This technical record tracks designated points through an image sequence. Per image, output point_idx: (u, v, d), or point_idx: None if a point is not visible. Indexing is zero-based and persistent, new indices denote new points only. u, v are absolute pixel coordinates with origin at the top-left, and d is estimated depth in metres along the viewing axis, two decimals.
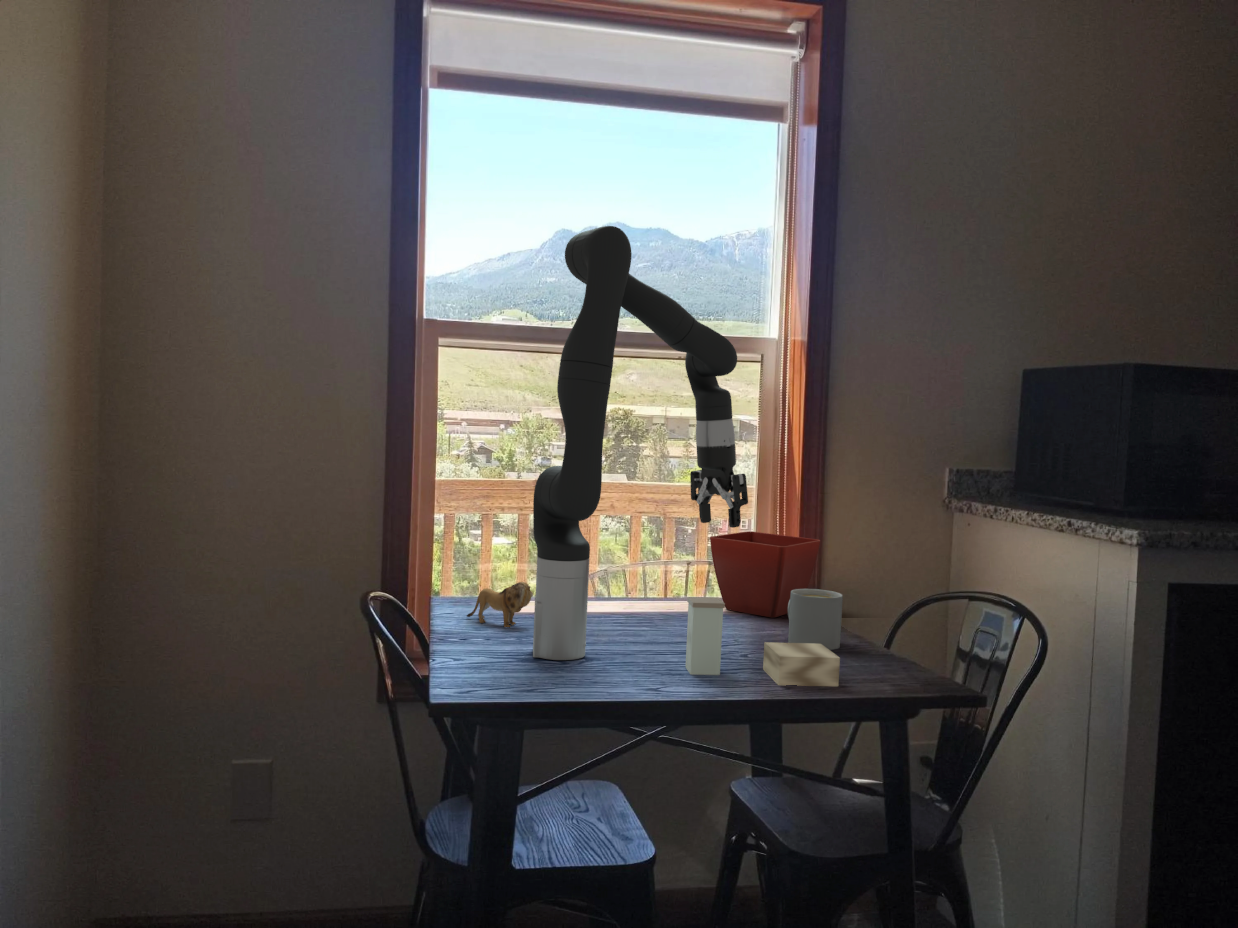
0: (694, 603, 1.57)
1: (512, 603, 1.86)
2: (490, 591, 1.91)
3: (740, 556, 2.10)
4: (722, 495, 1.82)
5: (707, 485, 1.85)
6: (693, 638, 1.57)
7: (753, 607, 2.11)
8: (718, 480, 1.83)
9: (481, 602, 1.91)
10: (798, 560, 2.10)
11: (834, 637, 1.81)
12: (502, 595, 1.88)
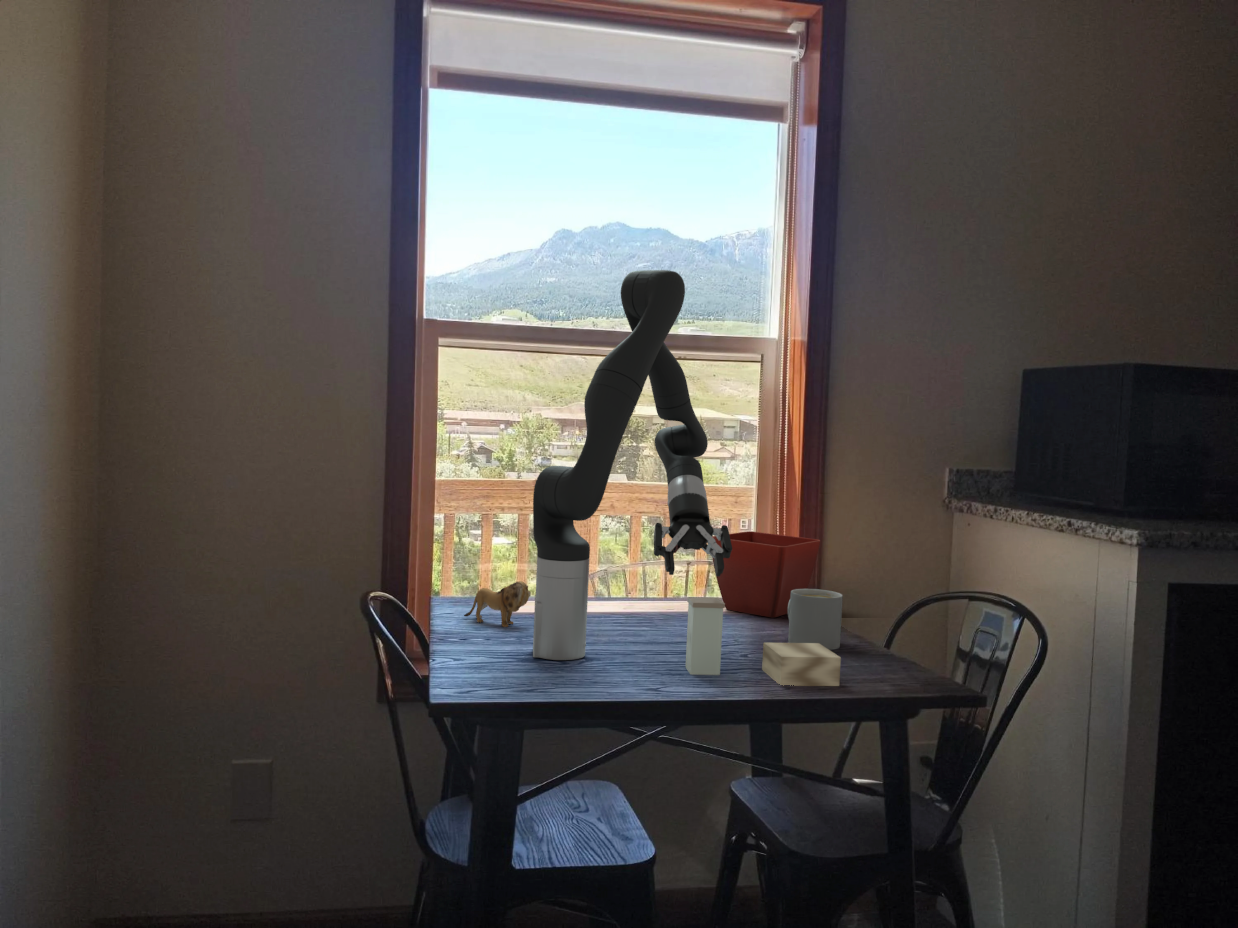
0: (694, 603, 1.57)
1: (510, 602, 1.87)
2: (488, 591, 1.91)
3: (740, 556, 2.10)
4: (710, 540, 1.74)
5: (685, 533, 1.74)
6: (693, 638, 1.57)
7: (753, 607, 2.11)
8: None
9: (479, 602, 1.91)
10: (798, 560, 2.10)
11: (834, 637, 1.81)
12: (500, 594, 1.89)
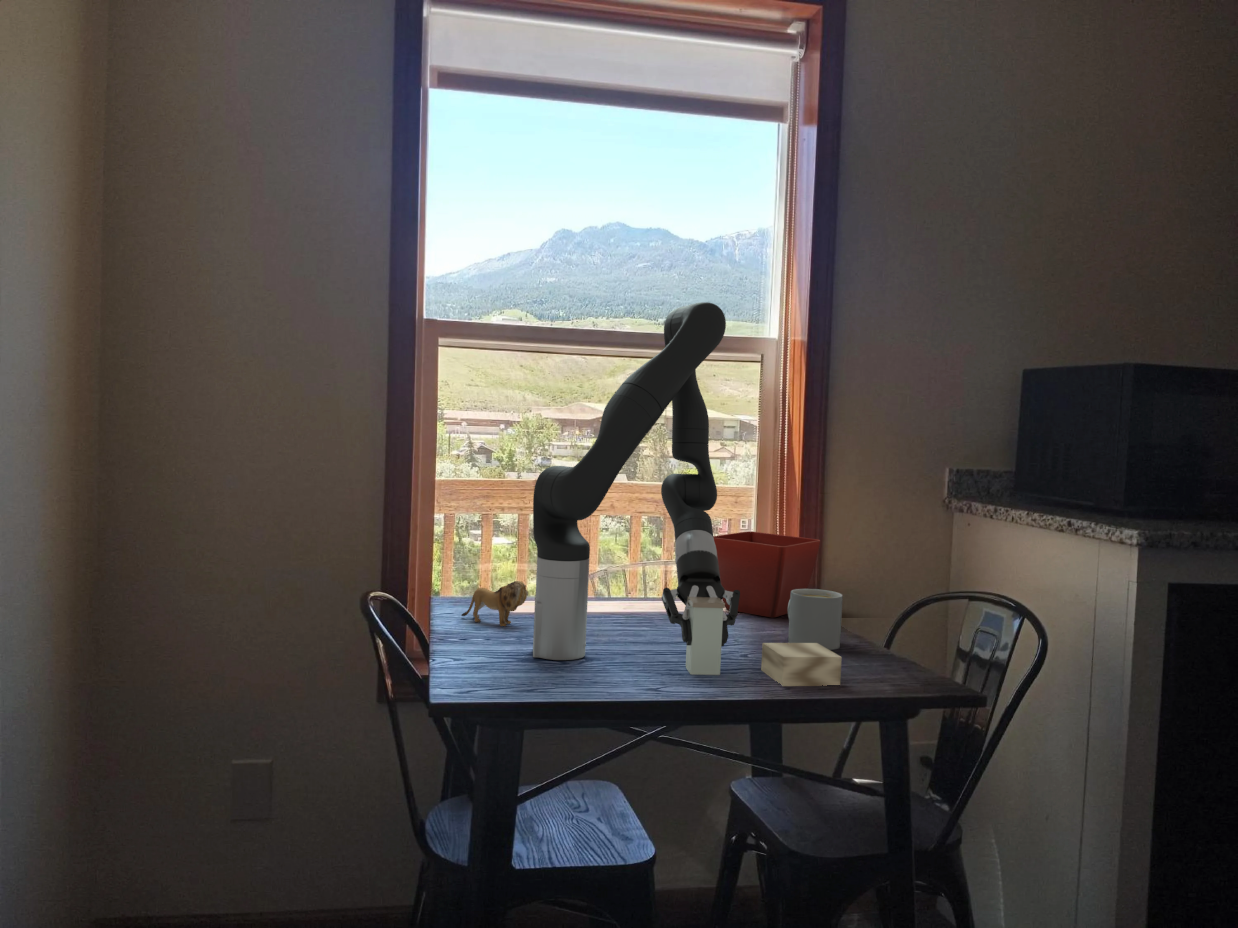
0: (694, 603, 1.57)
1: (508, 602, 1.87)
2: (485, 590, 1.91)
3: (740, 556, 2.10)
4: None
5: (696, 594, 1.63)
6: (693, 638, 1.57)
7: (753, 607, 2.11)
8: None
9: (476, 601, 1.91)
10: (798, 560, 2.10)
11: (834, 637, 1.81)
12: (498, 594, 1.89)
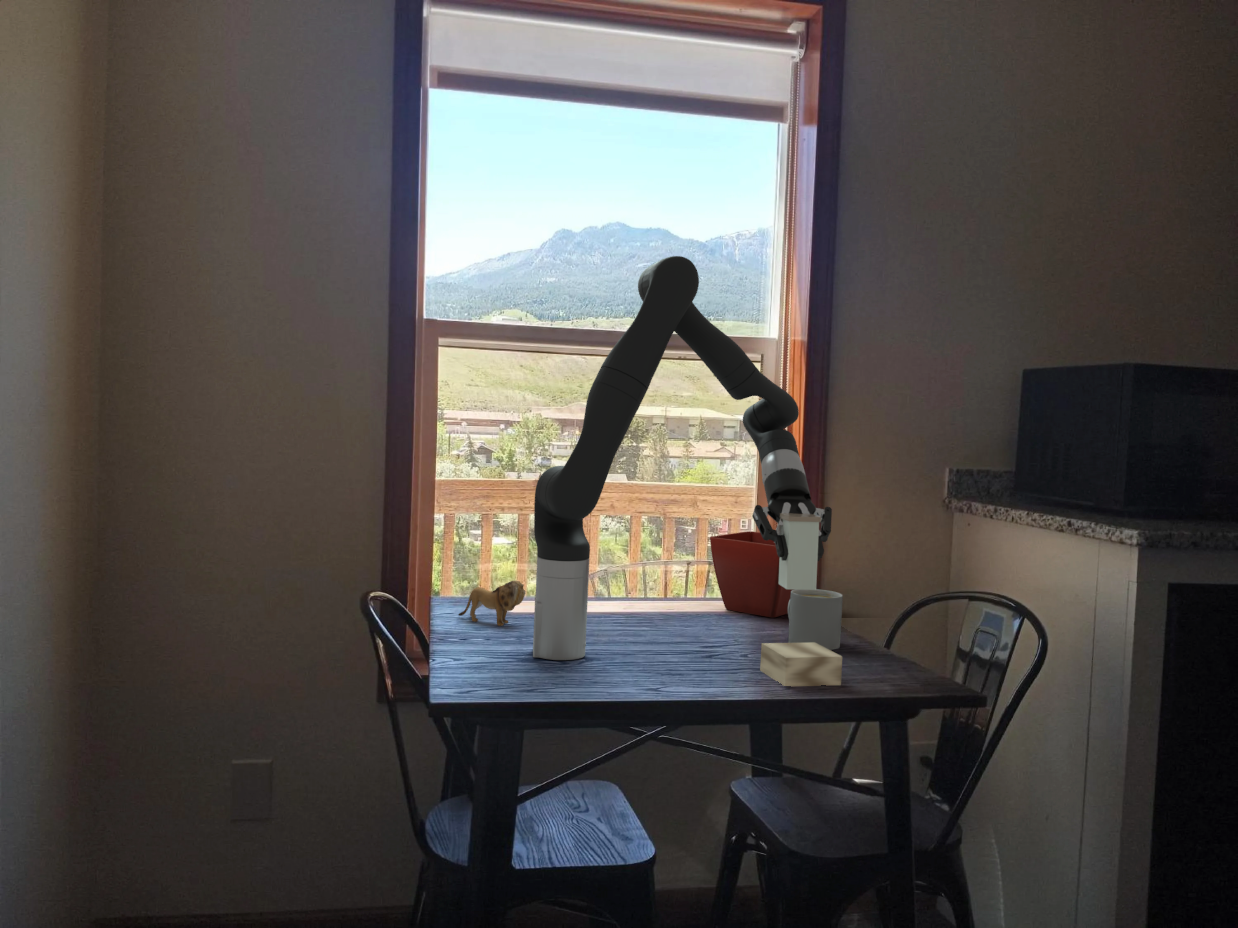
0: (790, 517, 1.55)
1: (505, 601, 1.88)
2: (482, 590, 1.92)
3: (740, 556, 2.10)
4: None
5: (789, 511, 1.61)
6: (789, 552, 1.56)
7: (753, 607, 2.11)
8: None
9: (473, 601, 1.92)
10: None
11: (834, 637, 1.81)
12: (495, 593, 1.89)
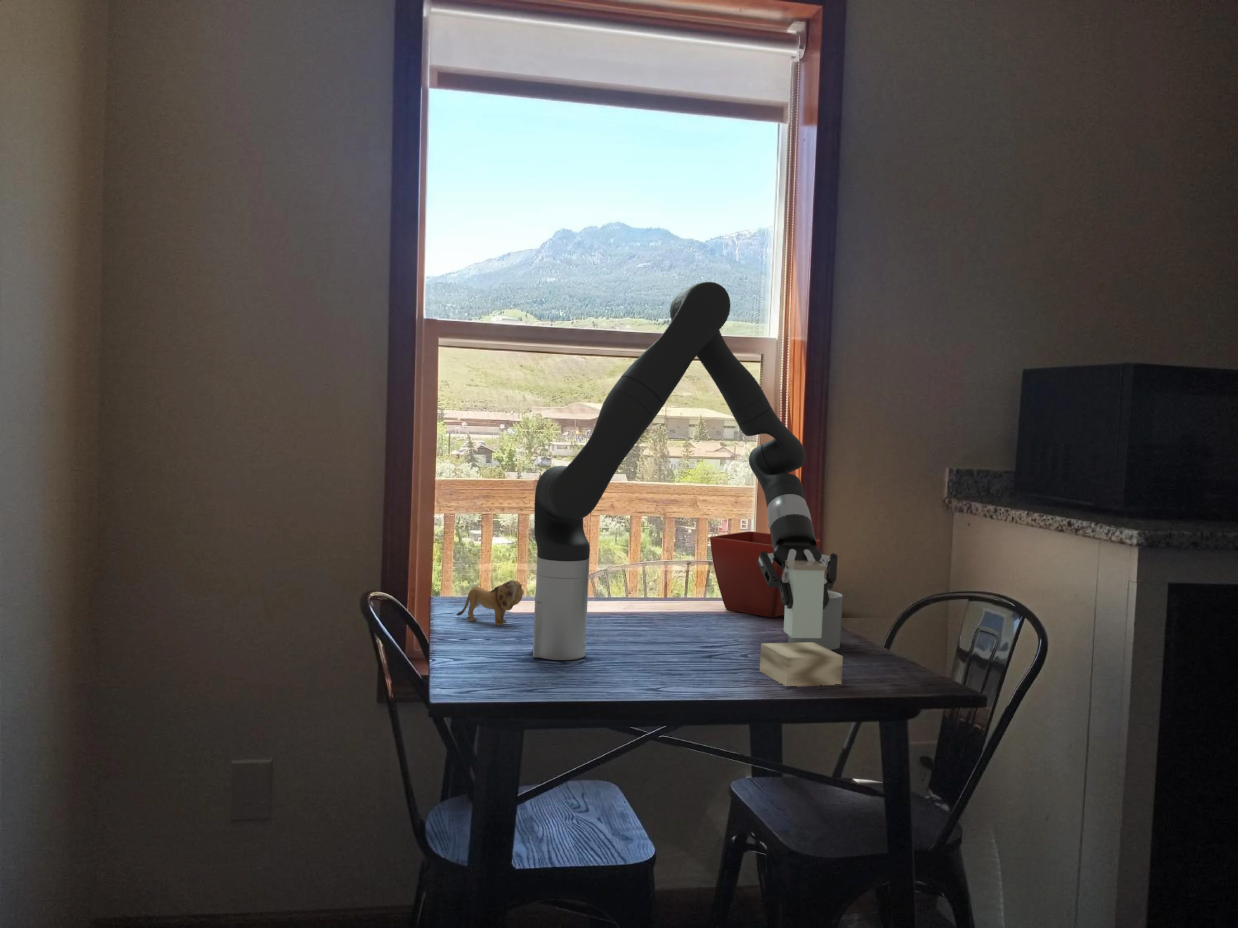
0: (795, 565, 1.55)
1: (504, 601, 1.88)
2: (481, 589, 1.92)
3: (740, 556, 2.10)
4: None
5: (794, 558, 1.61)
6: (794, 601, 1.56)
7: (753, 607, 2.11)
8: None
9: (472, 601, 1.92)
10: None
11: (834, 637, 1.81)
12: (494, 593, 1.90)
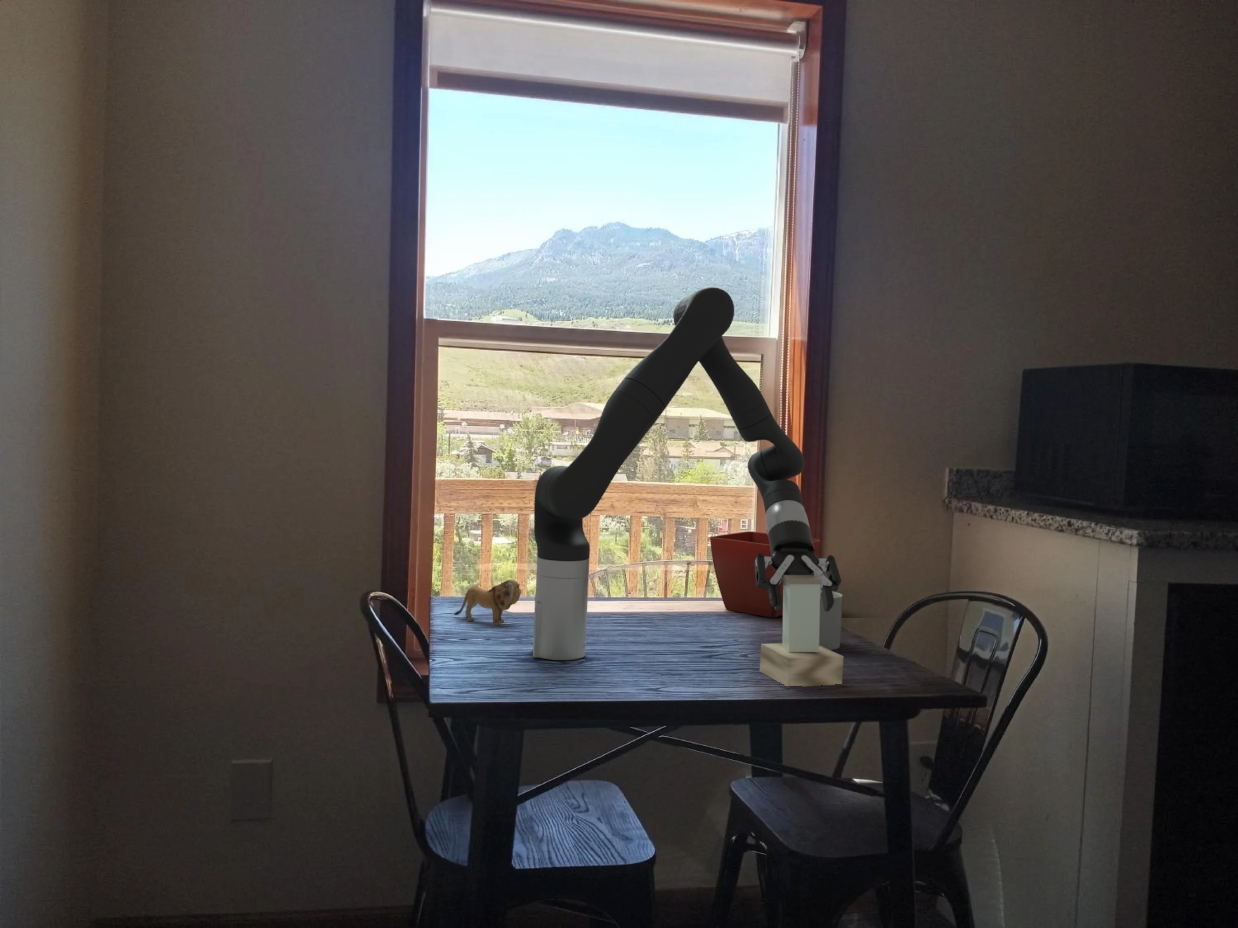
0: (791, 579, 1.56)
1: (501, 601, 1.88)
2: (478, 589, 1.92)
3: (740, 556, 2.10)
4: (817, 571, 1.61)
5: (790, 564, 1.62)
6: (791, 615, 1.56)
7: (753, 607, 2.11)
8: None
9: (469, 600, 1.92)
10: None
11: (834, 637, 1.81)
12: (491, 592, 1.90)
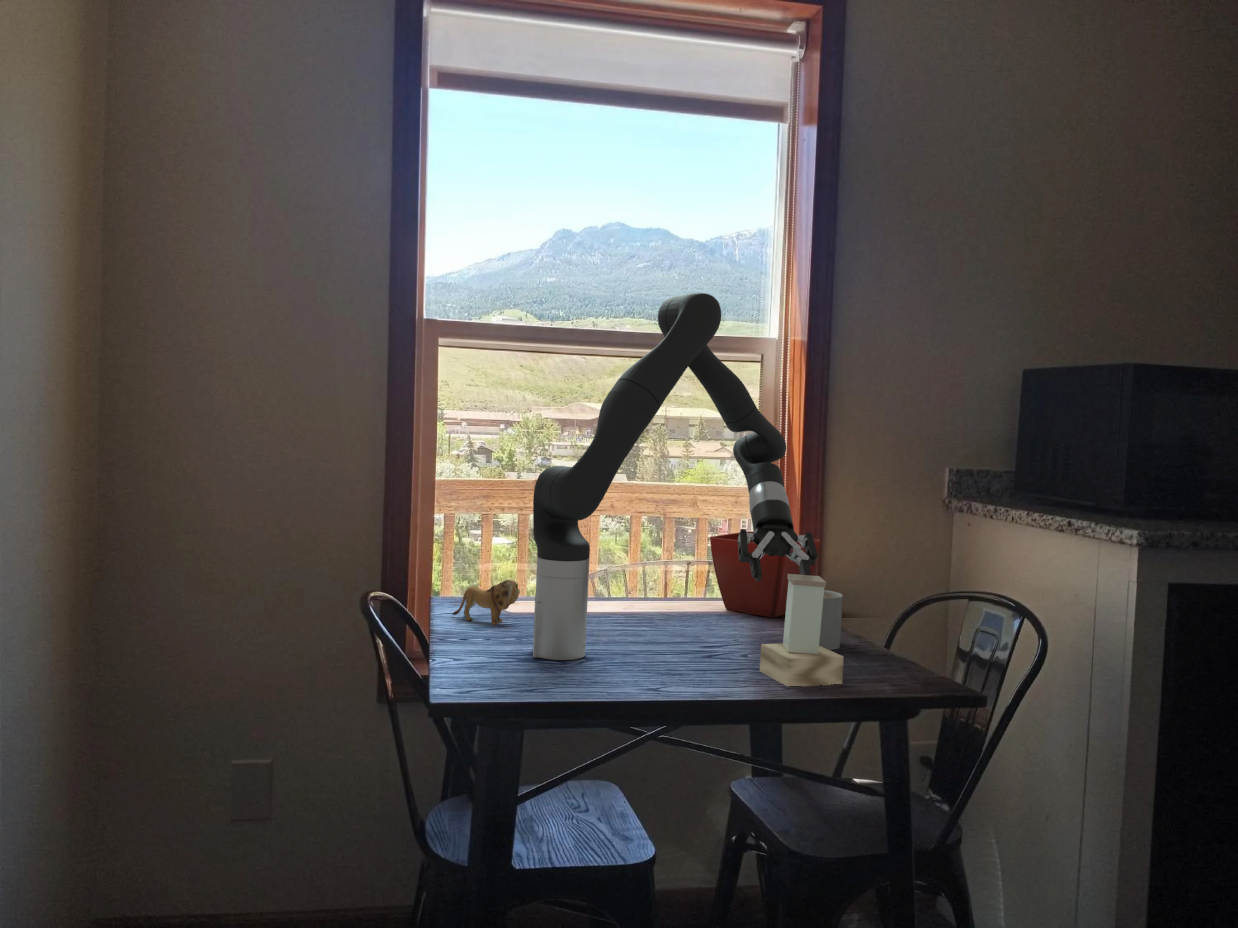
0: (795, 580, 1.55)
1: (500, 600, 1.88)
2: (477, 589, 1.92)
3: None
4: (796, 546, 1.73)
5: (771, 539, 1.74)
6: (792, 616, 1.56)
7: (753, 607, 2.11)
8: None
9: (468, 600, 1.92)
10: None
11: (834, 637, 1.81)
12: (490, 592, 1.90)
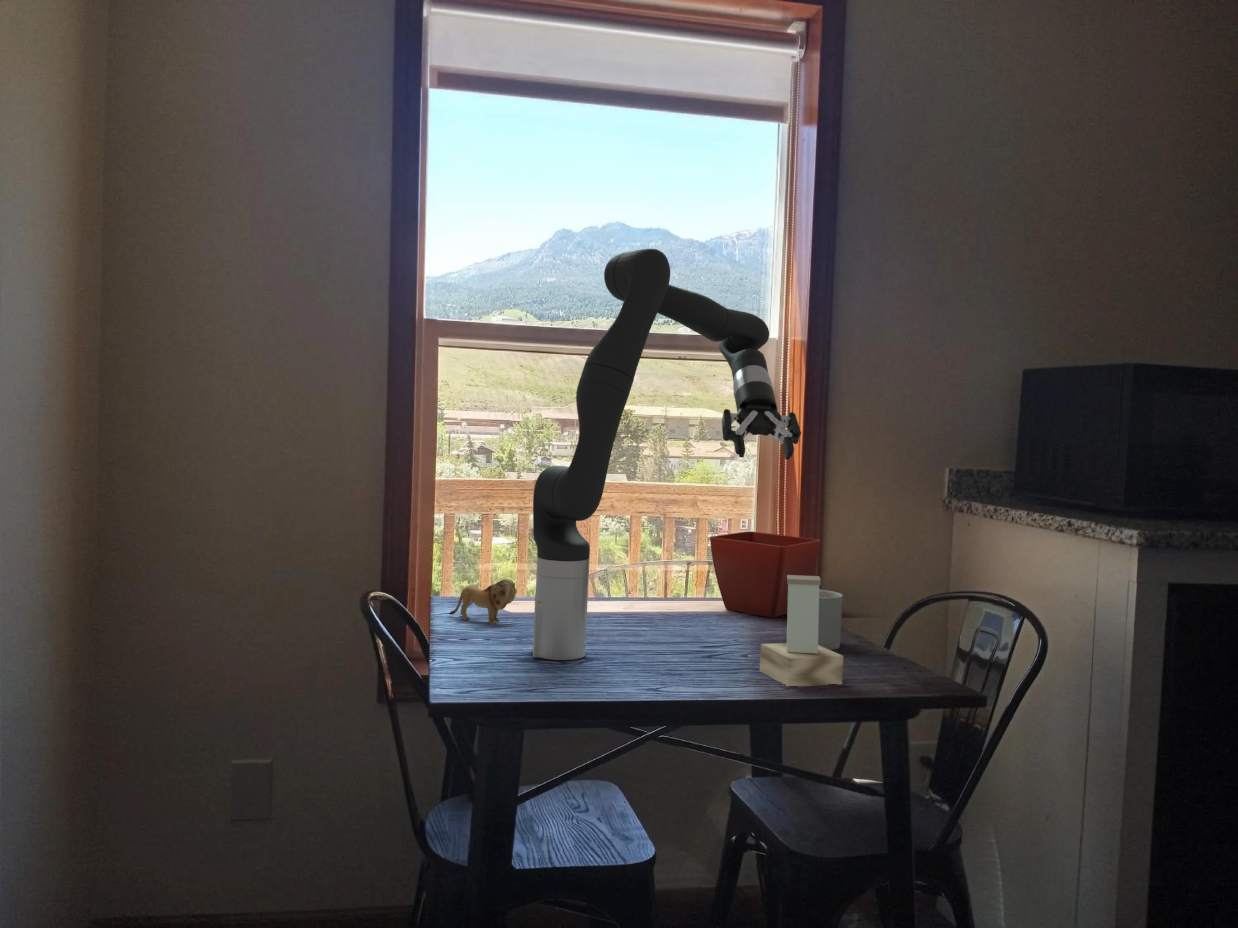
0: (789, 579, 1.56)
1: (497, 600, 1.89)
2: (474, 588, 1.93)
3: (740, 556, 2.10)
4: (779, 424, 1.75)
5: (754, 418, 1.76)
6: (789, 615, 1.56)
7: (753, 607, 2.11)
8: None
9: (465, 600, 1.92)
10: (798, 560, 2.10)
11: (834, 637, 1.81)
12: (487, 592, 1.90)
